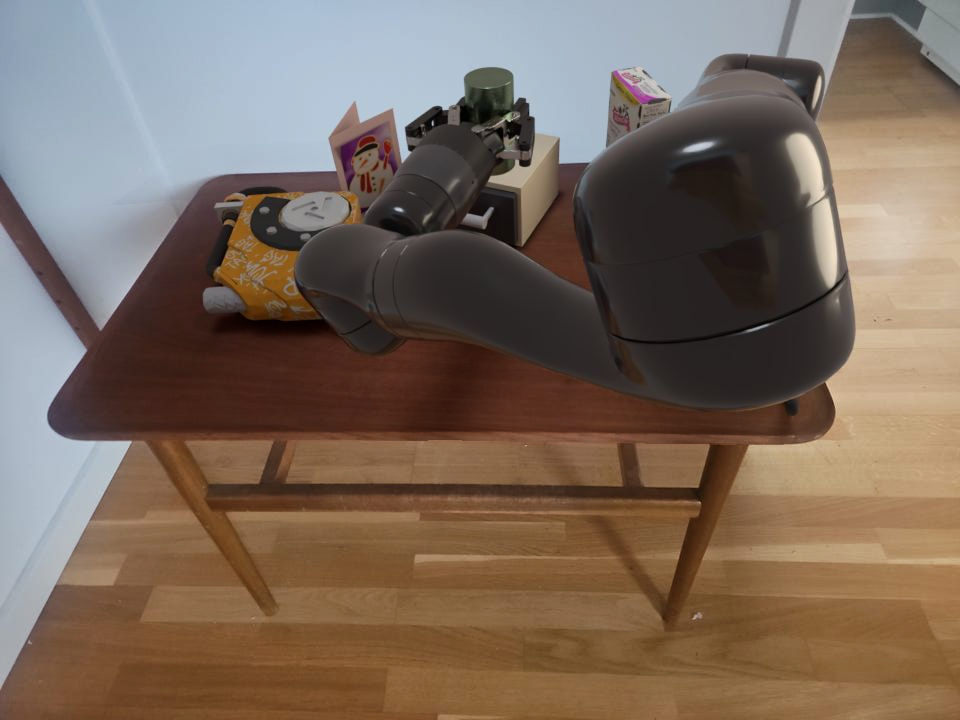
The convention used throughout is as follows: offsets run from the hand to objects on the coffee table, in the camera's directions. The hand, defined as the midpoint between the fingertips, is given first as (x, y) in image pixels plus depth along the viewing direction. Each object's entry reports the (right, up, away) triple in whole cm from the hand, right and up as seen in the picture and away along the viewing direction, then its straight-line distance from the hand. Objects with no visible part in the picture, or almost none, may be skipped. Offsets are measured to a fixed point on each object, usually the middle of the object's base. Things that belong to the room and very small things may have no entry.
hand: (497, 103), depth 72 cm
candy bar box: (+22, 0, +32) cm, 39 cm away
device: (-29, -15, +23) cm, 40 cm away
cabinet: (+2, -5, +29) cm, 30 cm away
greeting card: (-20, -4, +33) cm, 39 cm away
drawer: (0, -7, +26) cm, 27 cm away
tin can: (0, -6, +3) cm, 7 cm away
